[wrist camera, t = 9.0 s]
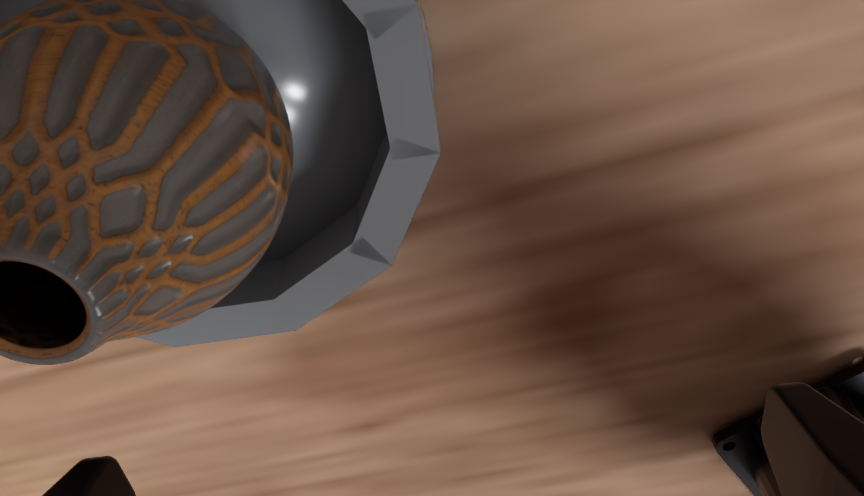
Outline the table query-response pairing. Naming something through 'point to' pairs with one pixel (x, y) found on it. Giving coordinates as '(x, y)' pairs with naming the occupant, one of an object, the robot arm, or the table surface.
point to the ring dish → (328, 153)
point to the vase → (130, 171)
